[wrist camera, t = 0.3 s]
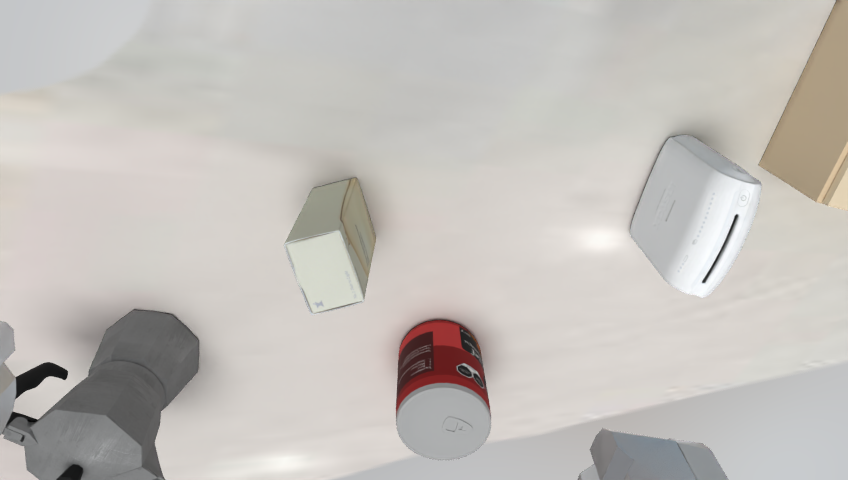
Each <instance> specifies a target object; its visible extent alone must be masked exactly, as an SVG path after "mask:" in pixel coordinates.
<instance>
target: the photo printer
mask: <svg viewBox="0 0 848 480" xmlns="http://www.w3.org/2000/svg"><path fill="white" fill-rule="evenodd" d="M761 186H762V184H761V182H760V181H759V180H757V179H756V178H754V177H753V176H751V175H750V174H749V173H748V172H747V171H745V170H744V169H742V168H741V167H739V166H738V165H736V164H735V163H733V162H732V161H730V160H729V159H727V158H726V157H724V156H723V155H721V154H719V153H718V152H716V151H715V150H713V149H712V148H710V147H709V146H707V145H706V144H704V143H702V142H701V141H699V140H698V139H696V138H694V137H692V136H689V135H679V136H675V137H673V138H671V137H670V138H669V139H668V140H667V141H666V143H665V145H664V146H663V148H662V150H661V152H660V154H659V156H658V158H657V161H656V163H655V165H654V167H653V170H652V172H651V174H650V177H649V179H648V181H647V184H646V186H645V189H644V191H643V194H642V196H641V199H640V202H639V204H638V207H637V210H636V212H635V215H634V218H633V221H632V224H631V229H630V235H631V237H632V238H633V240H634V241H635V242H636V244H637V245H638V246H639V248H640V249H641V250H642V252H643V253H644V254H645V256H646V257H647V258H648V260H649V261H650V262H651V263H652V265H653V266H654V267H655V269H656V270H657V271H658V272H659V274H660V275H661V276H662V277H663V279H664V280H665V281H666V282H667V283H668V284H670V285H671V286H672V287H674V288H676V289H677V290H679V291H681V292H683V293H686V294H692V295H696V296H698V297H701V298H702V297H707V296H708V295H709V294H710V293H711V292H712V291H713V290H714V289H715V288H716V287H717V286H718V285H719V284H720V282H721V281H722V280H723V278H724V277H725V276H726V274H727V273H728V271H729V269H730V268H731V266H732V265H733V263H734V261H735V260H736V258H737V256H738V253H739V252H740V251H741V249H742V245H743V243H744V242H745V240H746V237H747V235H748V233H749V230H750V228H751V225H752V223H753V220H754V217H755V214H756V211H757V208H758V204H759V200H760V195H761Z"/></svg>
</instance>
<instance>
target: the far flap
mask: <svg viewBox="0 0 848 480" xmlns="http://www.w3.org/2000/svg"><path fill="white" fill-rule="evenodd" d="M822 203H824V204H826V205H827V206H830V207H834V208H838V209H842V210H846V211H848V154H847V156H846V158H845V160H844V162H843V164H842V166H841V168H840V170H839V171H838V173H837V175H836V177H835V179H834V181H833V183H832V185H831V187H830V189H829V190H828V192H827V194H826V196H825V198H824V200H823V202H822Z"/></svg>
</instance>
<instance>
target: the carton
mask: <svg viewBox="0 0 848 480" xmlns="http://www.w3.org/2000/svg"><path fill="white" fill-rule="evenodd" d="M847 154H848V0H837V1H836V3H835V5H834V7H833V10H832V12H831V14H830V16H829V18H828V20H827V22H826V24H825V26H824V28H823V31H822V33H821V35H820V37H819V39H818V41H817V43H816V45H815V47H814V50H813V52H812V54H811V56H810V58H809V60H808V62H807V64H806V66H805V69H804V71H803V73H802V75H801V77H800V79H799V81H798V83H797V85H796V88H795V90H794V92H793V94H792V96H791V98H790V100H789V102H788V104H787V106H786V109H785V111H784V113H783V115H782V117H781V119H780V121H779V123H778V125H777V128H776V130H775V132H774V134H773V136H772V138H771V140H770V142H769V144H768V147H767V149H766V151H765V153H764V155H763V157H762V159H761V161H760V163H759V166H761V167H762V168H764V169H766V170H767V171H769V172H770V173H772V174H773V175H775V176H776V177H778V178H780V179H781V180H783V181H784V182H786V183H787V184H789V185H790V186H792V187H794V188H795V189H797V190H798V191H800V192H801V193H803V194H804V195H806V196H807V197H809V198H811V199H812V200H814V201H815V202H818V203H822V202H823V200H824V198H825V196H826V194H827V192H828V190H829V189H830V187H831V185H832V183H833V181H834V179H835V177H836V175H837V173H838V171H839V170H840V168H841V166H842V164H843V162H844V160H845V158H846V156H847ZM822 204H824V203H822Z"/></svg>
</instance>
